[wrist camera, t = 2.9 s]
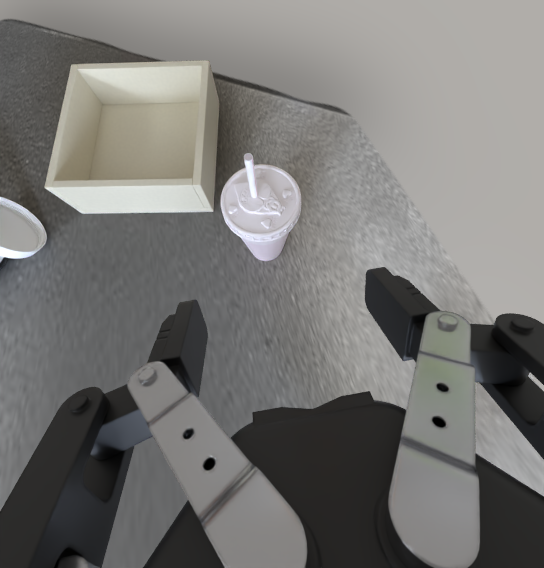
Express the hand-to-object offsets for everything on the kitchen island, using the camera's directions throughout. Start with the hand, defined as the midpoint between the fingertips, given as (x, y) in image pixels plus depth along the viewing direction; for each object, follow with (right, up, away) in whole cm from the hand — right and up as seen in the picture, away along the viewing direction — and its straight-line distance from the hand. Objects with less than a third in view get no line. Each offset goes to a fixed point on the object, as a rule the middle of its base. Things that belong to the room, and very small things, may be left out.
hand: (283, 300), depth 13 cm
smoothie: (-1, +5, +18) cm, 18 cm away
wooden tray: (-15, +17, +21) cm, 30 cm away
